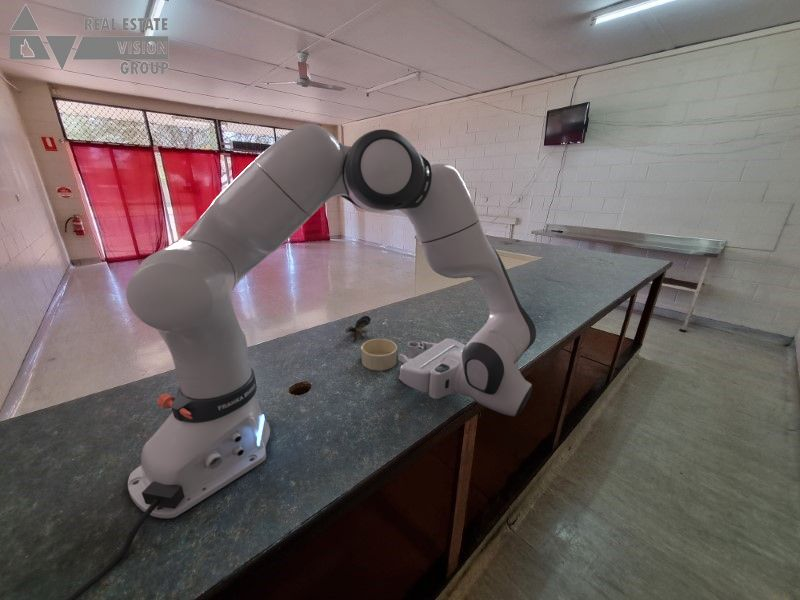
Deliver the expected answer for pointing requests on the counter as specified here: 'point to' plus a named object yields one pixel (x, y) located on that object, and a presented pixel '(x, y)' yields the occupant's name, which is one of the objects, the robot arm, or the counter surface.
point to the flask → (412, 350)
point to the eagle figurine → (359, 327)
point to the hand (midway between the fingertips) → (410, 349)
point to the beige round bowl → (379, 354)
